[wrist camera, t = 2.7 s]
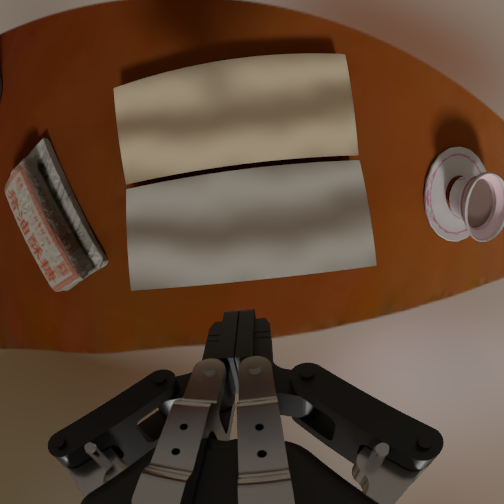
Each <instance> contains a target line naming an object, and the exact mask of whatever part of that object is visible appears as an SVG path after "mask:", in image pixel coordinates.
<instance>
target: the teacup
mask: <svg viewBox="0 0 504 504" xmlns="http://www.w3.org/2000/svg"><path fill="white" fill-rule="evenodd" d="M459 175H460V176H463V177H460V178H459V179H457V180H456V181H455V183H454V184H453V186H452V188H451V191H450V196H449V204H450V209H451V210H450V209H449V207H448V206H447V202H446V188H447V186H448V183H449V182H450V180H451V179H452V178H454V177H455V176H459ZM424 205H425V213H426V215H427V218H428V221H429V224H430V226H431V227H432V228H433V230H434V231H435V232H436V234H437V235H439V236H440V237H442V238H444V239H445V240H447V241H460V240H463V239H465V238H467V237H469V236H470V235H471V237H472V238H474V239H475V240H477V241H480V242H486V241H489V240H491V239H493V238H494V237H495V236H497V235H498V234H499V232H500V231H501V230H502V228H503V227H504V181H503V180H502V179H501V178H500V177H499V176H498V175H497V174H494V173H492V172H486V170H485V167H484V166H483V164H482V162H481V160H480V159H479V157H478V156H477V155H476V154H474V153H473V152H472V151H471V150H469V149H466V148H463V147H460V146H459V147H451V148H448V149H447V150H445V151H443V152H442V153H440V154H439V155H438V157H437V158H436V159H435V161H434V162H433V163H432V165H431V167H430V170H429V172H428V175H427V178H426V182H425V189H424Z"/></svg>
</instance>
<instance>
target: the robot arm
mask: <svg viewBox="0 0 504 504" xmlns="http://www.w3.org/2000/svg"><path fill="white" fill-rule="evenodd" d="M1 92H2V79H1V76H0V98H1ZM235 393H239V402H238V403H237V437H238V439H234V440H230V433H231V428H232V423H233V417H234V412H235V402H234V401H235ZM157 407H158V408H159V411H157V412H155V413H154V414H153V415H151V416H150V417H148V418H147V419H146V420H144V421H143V422H141V423H140V424H138V425H137V423H138V421H139V420H140V419H142V418H143V417H145V416H146V415H147V414H149V413H150V412H152V411H153V410H154V409H156V408H157ZM280 415H286V416H292V419H293V420H294V421H295V422H296V423H298V424H299V425H300V426H301V427H303V428H304V429H305V430H307V431H308V432H309V433H311V434H312V435H313V436H315V437H316V438H317V439H319V440H320V441H322V442H323V443H324V444H326V445H327V446H328V447H330V448H331V449H333V450H334V451H336V452H337V453H339V454H340V455H341V456H343V457H344V458H346V459H347V460H349V461H351V462H352V463H353V464H354V466H353V468H352V476H353V478H354V479H355V481H357V482H358V483H359V484H360V486H361V488H362V491H363V492H362V491H360V490H359V489H357V488H356V487H354V486H353V485H352V484H350V483H349V482H347V481H346V480H345V479H343V478H342V477H341V476H340V475H338V474H337V473H335V472H334V471H333V470H331V469H330V468H329V467H328V466H327V465H325V464H324V463H323V462H322V461H320V460H319V459H318V458H317V457H315V456H314V455H313V454H312V453H310V452H309V451H308V450H306V449H305V448H303V447H301V446H299V445H297V444H294V443H291V442H287V441H284V436H283V430H282V424H281V417H280ZM442 447H443V438H442V436H441V434H440V433H439V431H437V430H436V429H434V428H432V427H430V426H428V425H426V424H424V423H422V422H420V421H418V420H416V419H414V418H412V417H410V416H408V415H406V414H404V413H402V412H400V411H398V410H396V409H394V408H393V407H391V406H389V405H387V404H385V403H383V402H381V401H380V400H378V399H376V398H374V397H372V396H371V395H369V394H367V393H365V392H363V391H361V390H360V389H358V388H356V387H355V386H353V385H351V384H349V383H347V382H346V381H344V380H342V379H341V378H339V377H337V376H336V375H334V374H332V373H331V372H329V371H327V370H325V369H324V368H322V367H321V366H319V365H317V364H313V363H302V364H299V365H297V366H295V367H294V368H293V369H292V370H288V369H283V368H280V367H278V366H277V365H275V364H274V362H273V352H272V339H271V330H270V323H269V322H268V321H267V320H266V318H260V319H256V316H255V310H254V309H251V310H240V312H239V311H228V312H224V317H223V322H215V323H214V324H213V325H212V326H211V328H210V329H209V334H208V338H207V342H206V346H205V350H204V354H203V359H202V361H200V362H199V363H197V364H196V365H195V367H194V368H193V371H192V372H191V373H189V374H185V375H181V376H177V377H175V374H174V373H173V372H171V371H169V370H158V371H155V372H153V373H151V374H150V375H148V376H147V377H145V378H144V379H142V380H141V381H139V382H138V383H136V384H135V385H133V386H131V387H130V388H129V389H127V390H125V391H124V392H122V393H121V394H119V395H117V396H116V397H114V398H113V399H111V400H110V401H108V402H106V403H105V404H103V405H102V406H100V407H98V408H97V409H95V410H94V411H92V412H90V413H89V414H87V415H86V416H84V417H82V418H80V419H79V420H77V421H76V422H74V423H72V424H70V425H69V426H67V427H65V428H64V429H62V430H60V431H59V432H57V433H55V434H54V435H53V436H52V437H51V438H50V440H49V442H48V449H49V452H50V453H51V454H52V455H53V456H54V457H55V458H56V459H57V460H58V461H59V462H61V464H62V465H63V466H64V467H65V468H67V469H68V471H69V473H70V474H71V476H72V478H73V479H74V481H75V483H76V484H77V486H78V488H79V489H80V491H81V493H82V494H83V496H84V499H83V500H82V502H81V504H395V503H396V501H397V500H398V499H399V498H400V497H401V495H402V494H403V493H404V492H405V491H406V489H407V488H408V487H409V486H410V485H411V484H412V483H413V482H414V481H415V480H416V478H418V477H419V476H420V474H421V473H422V472H423V471H424V470H425V469H426V468H427V467H428V466H429V464H431V462H432V461H433V460H434V459H435V458H436V457H437V455H438V454H439V453H440V451H441V450H442Z"/></svg>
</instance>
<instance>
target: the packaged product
mask: <svg viewBox="0 0 504 504" xmlns="http://www.w3.org/2000/svg"><path fill="white" fill-rule="evenodd" d="M4 191H5V194H6V197H7V200H8V202H9V205H10V207H11V209H12V212H13V214H14V217H15V219H16V221H17V223H18V226H19V228H20V230H21V232H22V234H23V236H24V238H25V241H26V243H27V244H28V246H29V248H30V251H31V252H32V254H33V256H34V258H35V260H36V262H37V263H38V265H39V267H40V269H41V271H42V273H43V274H44V276H45V278H46V279H47V281H48V283H49V285H50V287H51V288H52V289H53V290H54V291H59V292H60V291H62V290H65V291H66V290H67V291H68V290H69V289H71V288H72V287H74V286H75V285H77V284H78V282H79V281H82V280H84V278H86V277H87V276H89V275H90V274H92V273H93V272H95V271H97V270H99V269H100V268H102V267H104V266H105V265H106V264H107V263H108V259H107V257H106V256H105V254H104V252H103V251H102V249H101V247H100V245H99V244H98V242H97V240H96V239H95V237H94V235H93V233H92V231H91V229H90V227H89V224H88V222H87V220H86V218H85V216H84V215H83V212H82V210H81V208H80V206H79V204H78V202H77V200H76V198H75V196H74V194H73V191H72V189H71V187H70V185H69V183H68V181H67V179H66V176H65V174H64V172H63V170H62V168H61V165H60V163H59V161H58V159H57V157H56V154H55V152H54V150H53V147H52V145H51V143H50V141H49V139H47V138H43V139H42V140H41V141H40V142H39V143H38V144H37V145H36V146H35V148H34V149H33V150H32V151H31V152H30V153H29V155H28V156H27V157H26V158H24V159H23V160H22V161H21V162H20V163H19V164H18V165H17V166H16V167H15V168H14V169H13V171H12V172H11V174H10V177H9V179H8V181H7V183H6V185H5V189H4Z"/></svg>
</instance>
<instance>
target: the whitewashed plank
mask: <svg viewBox="0 0 504 504" xmlns="http://www.w3.org/2000/svg"><path fill="white" fill-rule="evenodd" d="M126 221H127V246H128V261H129V274H130V284H131V291H132V290H146V289H160V288H172V287H185V286H197V285H208V284H219V283H230V282H240V281H250V280H260V279H269V278H279V277H288V276H297V275H305V274H314V273H322V272H331V271H339V270H347V269H354V268H362V267H370V266H377V265H376V256H375V247H374V239H373V232H372V225H371V218H370V212H369V206H368V200H367V195H366V189H365V184H364V179H363V174H362V169H361V165H360V160H350V161H329V162H313V163H300V164H288V165H277V166H267V167H258V168H249V169H241V170H233V171H226V172H219V173H212V174H206V175H199V176H193V177H187V178H181V179H176V180H170V181H165V182H159V183H154V184H149V185H144V186H140V187H135V188H130V189H126Z"/></svg>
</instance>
